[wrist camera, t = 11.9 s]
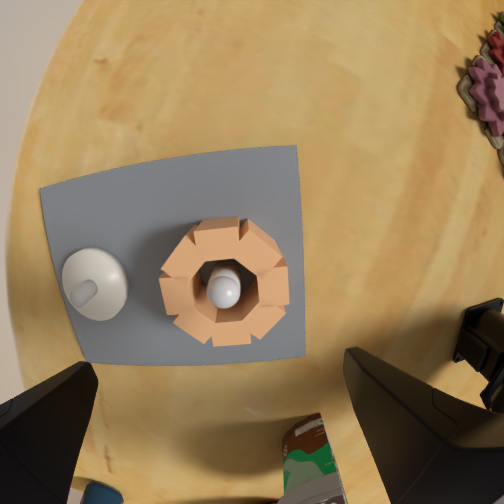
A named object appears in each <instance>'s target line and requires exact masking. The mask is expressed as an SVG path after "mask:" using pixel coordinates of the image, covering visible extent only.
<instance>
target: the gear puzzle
mask: <svg viewBox="0 0 504 504" xmlns="http://www.w3.org/2000/svg"><path fill="white" fill-rule="evenodd" d="M499 17H500V19H501V21H502V22H503V24H504V12H502V13H501V15H500V16H499ZM487 38H488V40H489V42H490V44H491V46H492V48H493V50H491V49H490V47H489V45H488V44H487V43H485V44H484V46H483V47H482V49H481V51H480V52H481V55H479V56H477V57H476V58H475V60H474V61H473V63H472V66H473V67H469V68H468V70H469V73H470V75H471V77H472V79H473V81H474V82H475V83H474V84H473V83H472V80H471V78H470V76H469V75H465V76H464V77H463V79H462V80H461V82H460V83H459V85H458V91H459V93H460V95H461V97H462V98H463V100H464V101H465V102H466V104H467V105H468V107H469V108H470V110H471V111H472V112H475V111H476V106H478V107H479V118H480V120H482V121H487V122H488V127H487V128H486V129H485V133H486V135H487V136H488V138H489V140H490V142H491V143H492V145H493V147H494V148H495V149H498V154H499V158H500V160H501V162H502V164H503V166H504V27H503V26H502V24H501V23H500V22H497V23H496V25H495V30H492V32H491V33H490V35H489V36H488V37H487Z"/></svg>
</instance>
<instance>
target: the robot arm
mask: <svg viewBox="0 0 504 504" xmlns="http://www.w3.org/2000/svg"><path fill="white" fill-rule="evenodd" d="M503 303H504V300H503V299H502V298H498V299H495V300H493V301H490V302H487V303H484V304H481V305H478V306H475V307H471V308H469V309H468V310H467V311H466V314H465V318H464V322H463V326H462V330H461V333H460V337H459V340H458V344H457V347H456V350H455V353H454V356H453V361H454V362H455V363H457V362H460V361H462V360H466V361H467V362H468V363H469V364H470V365H471V366H472V367H473V368H474V369H475V371H476V372H480V373H481V374H482V375H483V376H484V377H485V378H486V380H487V381H488V382H489V381H490V382H489V383H488V385H487V386H486V388H485V389H484V390H483V391H482V392H481V393H480V397H481V399H482V401H483V403H484V405H485V407H486V409H484V408H481V407H478V406H475V405H473V404H470V403H467V402H465V401H462V400H460V399H457V398H455V397H453V396H451V395H448V394H446V393H444V392H442V391H440V390H438V389H436V388H433V387H432V386H430V385H428V384H426V383H425V382H423V381H421V380H419V379H417V378H415V377H413V376H411V375H409V374H407V373H406V372H404V371H402V370H400V369H398V368H396V367H394V366H392V365H391V364H389V363H387V362H385V361H383V360H381V359H380V358H378V357H376V356H374V355H372V354H370V353H369V352H367V351H365V350H363V349H361V348H359V347H351V348H347V349H346V350H345V354H344V364H343V373H344V377H345V380H346V384H347V387H348V391H349V395H350V398H351V402H352V405H353V409H354V412H355V414H356V417H357V419H358V421H359V424H360V426H361V429H362V431H363V434H364V436H365V438H366V441H367V443H368V446H369V448H370V451H371V453H372V456H373V458H374V461H375V463H376V466H377V468H378V471H379V474H380V476H381V479H382V481H383V484H384V486H385V489H386V492H387V494H388V497H389V500H390V502H391V504H504V314H502V313H501V311H502V307H503ZM97 388H98V378H97V376H96V374H95V372H94V370H93V367H92V365H91V364H90V363H89V362H85V361H79V362H77V363H76V364H74V365H72V366H70V367H68V368H67V369H65V370H63V371H61V372H59V373H58V374H56V375H54V376H52V377H50V378H49V379H47V380H45V381H43V382H41V383H39V384H38V385H36V386H34V387H32V388H30V389H29V390H27V391H25V392H23V393H21V394H20V395H18V396H16V397H14V399H13V398H12V399H10V400H8V401H7V402H5V403H3V404H1V405H0V504H67V499H68V495H69V491H70V486H71V482H72V478H73V475H74V471H75V467H76V463H77V460H78V456H79V453H80V449H81V446H82V443H83V440H84V436H85V433H86V430H87V427H88V424H89V421H90V417H91V414H92V409H93V405H94V400H95V396H96V392H97Z"/></svg>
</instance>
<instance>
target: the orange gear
mask: <svg viewBox="0 0 504 504" xmlns="http://www.w3.org/2000/svg"><path fill="white" fill-rule="evenodd" d="M224 259H236V260H237V261H238V262H239V263H241V264H242V265H243V266H245V267H246V268H247V269H249V270H250V271H251V272H253V273H254V274H255V275H256V279H255V281H254V282H253V283H252V284H251V285H250V286H249V287H248V288H247V290H246V291H245V292H244V293H243V294H242V295H240V297H239V299H238V301H237V302H236V304H234V305H233V306H232V307H229V308H225V309H222V308H218V307H215V306H214V305H213V304H211V302H210V301H209V299H208V297H207V287H206V286H205V285H203V284H202V282H201V276H200V270H199V268H200V267H201V266H202V265H203V263H204V262H205V261H214V260H224ZM161 270H163V271H164V272H163V274H162V275H161V276H160V278H159V282H160V287H161V291H162V296H163V300H164V304H165V308H166V313H167V315H176V316H175V319H174V321H173V323H174V324H175V325H176V326H178V327H179V328H181V329H182V330H184V331H185V332H187V333H188V334H190V335H191V336H193V337H194V338H196V339H197V340H199V341H200V342H202V343H203V344H205V343H206V341H207V340H208V339H209V338H210V337H211V336H212V341H213V346H214V347H215V346H230V345H242V344H251V334H252V335H254V336H255V337H257V338H258V339H261V338H262V337H263V336H264V335H265V334H266V333H267V332H268V331H269V330H270V329H271V328H272V327H273V326H274V325H275V324H276V323H277V322H278V321H279V320H280V319H281V318H282V317H283V316H284V315H285V314H286V312H285V308H284V305H289V284H288V267H287V264H286V262H285V260H284V258H283V255H282V253H281V251H280V249H279V248H278V246H277V244H276V241H275V240H274V239H273V238H271V237H270V236H269V235H268V234H266V233H265V232H264V231H263V230H262V229H260V228H259V227H258V226H257V225H255V224H254V223H253V222H252V221H250V220H249V219H247V220H246V221H245V222H244V224H243V225H242V226H241V227H240V222H239V216H232V217H223V218H214V219H205V220H203V221H202V222H201V223H200V224H199V225H198V226H197V225H196V224H195V225H194V226H193V227H192V229H191V230H190V231H189V232H188V233H187V234H186V235H185V236H184V238H183V239H182V240H181V242H180V243H179V244H178V246H177V247H176V248H175V250H174V251H173V253H172V254H171V255H170V257H169V258H168V259H167V261H166V262H165V264H164V265H163V266H162V268H161Z"/></svg>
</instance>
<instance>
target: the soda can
mask: <svg viewBox="0 0 504 504" xmlns="http://www.w3.org/2000/svg"><path fill="white" fill-rule="evenodd" d="M123 502H124V500H123V497H122V495H121V493H120V492H119V491H118V490H116V489H115V488H113V487H111V486H109V485H107V484H104V483H101V482H98V481H93V482H91V483H89V484H88V485H87V486H86V488H85V491H84V494H83V497H82V499H81V502H80V504H123Z"/></svg>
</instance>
